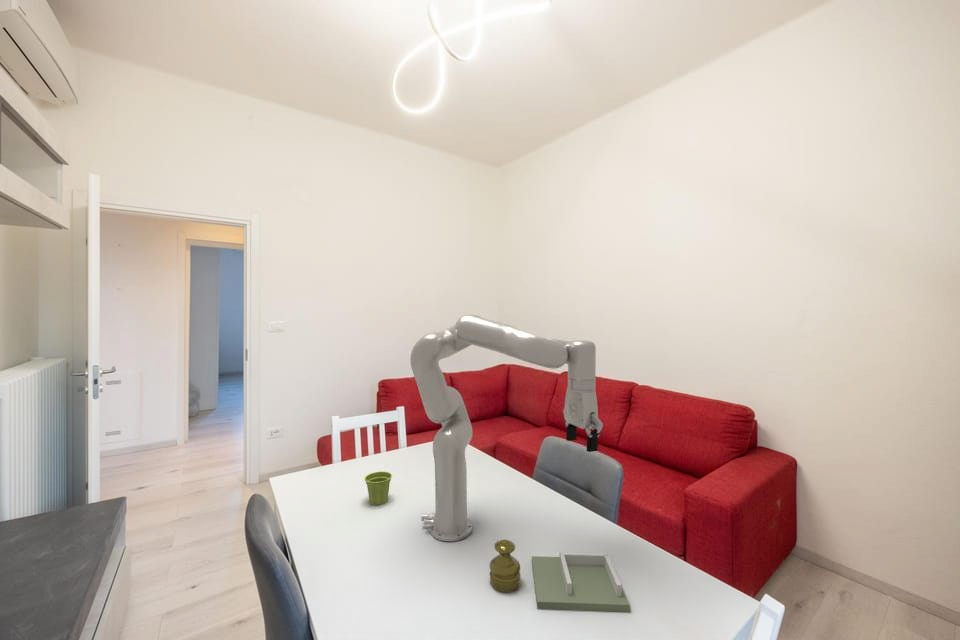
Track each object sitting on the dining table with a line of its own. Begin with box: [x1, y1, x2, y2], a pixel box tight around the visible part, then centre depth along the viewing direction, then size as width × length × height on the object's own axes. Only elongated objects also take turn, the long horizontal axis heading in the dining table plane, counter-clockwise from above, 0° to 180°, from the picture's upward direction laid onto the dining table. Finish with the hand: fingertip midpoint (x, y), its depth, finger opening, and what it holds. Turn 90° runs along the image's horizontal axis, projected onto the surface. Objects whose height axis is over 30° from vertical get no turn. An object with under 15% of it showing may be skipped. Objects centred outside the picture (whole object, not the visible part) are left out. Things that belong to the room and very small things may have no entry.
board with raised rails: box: [531, 551, 631, 613], centre depth 91 cm, size 20×16×4 cm
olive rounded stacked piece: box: [489, 538, 521, 593], centre depth 92 cm, size 7×7×10 cm
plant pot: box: [364, 471, 393, 506], centre depth 134 cm, size 9×9×9 cm
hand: (581, 445), depth 107 cm, fingers open, 9 cm apart
